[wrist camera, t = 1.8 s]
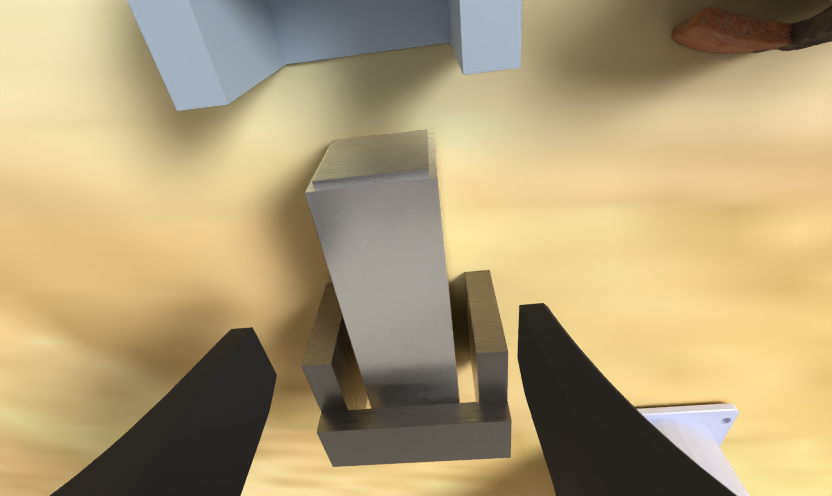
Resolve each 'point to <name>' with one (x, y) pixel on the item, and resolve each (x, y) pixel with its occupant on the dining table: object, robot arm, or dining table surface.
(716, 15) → the pottery mug
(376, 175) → the bar
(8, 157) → the dining table surface
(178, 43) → the socket
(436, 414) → the sleeve
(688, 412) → the robot arm
